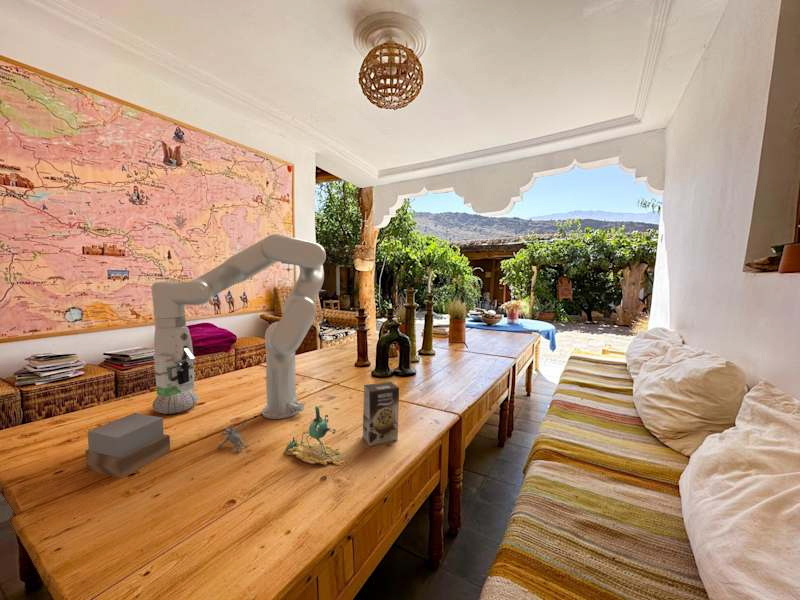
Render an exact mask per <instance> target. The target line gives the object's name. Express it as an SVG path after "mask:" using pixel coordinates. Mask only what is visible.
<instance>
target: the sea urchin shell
mask: <svg viewBox="0 0 800 600" xmlns="http://www.w3.org/2000/svg"><path fill="white" fill-rule="evenodd" d="M197 394H198V393H197V392H196V391H194V388H193V389H190V390H187V391H184V392H181V393H177V394H174V395H171V396H168V397H164V396H160V395H157V396H156V397H155V399H154V400H153V402H152V404H151V405H152V406H151V407H152V408H153V410H154V412H156V413H158V414H161V415H162V414H163V415H175V414H177V413H183V412H184V411H188V410H189V409H191V408H193V407H195V405H197V403H198V401H199V396H198V395H197Z"/></svg>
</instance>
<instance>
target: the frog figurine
mask: <svg viewBox="0 0 800 600" xmlns="http://www.w3.org/2000/svg"><path fill="white" fill-rule="evenodd" d="M314 411H315V418H313V420H312V421H311V423H310V424H309V427H308V431H306V432H305V431H304V432H302V437H301V440H300V441H298V439H295V436H293V437H292V441H291V440H290V442H289V443H288V444H286V447H285V448H284V450H283V453H284V454H285V455H288V456H295V457H296V458H297V459H300V460H301V461H303V462H306V463H309V464H318V465H320V464H321V465H327V464H328V463H329V464H330V463H332V464H334V465H336V466H337V465H338V466H342V463H345V460H344V458H342V456H340V451H339V450H337V449H336V448H335V447H334V445H332V444H331V445H330V444H324V443H323V442H322V441H321V440H320V439H322V438H324V437H325V436H326V435H327V432H331V433H332V434H333V435H335V434H336V432H337V430H336V429H335V428H333V429H332V430H331V427H328V422H329V415H328V414H325V415H324V419H323V417H321V413H320V407H319V406H318V405H316V406H315V408H314ZM306 434H308V435H307V436H306V437H305V440H306V441H303V440H304V439H303V438H304V435H306ZM309 437H310V438H309ZM308 438H309V441H310V440H311V439H315V440H317V441H312V442H311V441H310V442H309V441H308Z"/></svg>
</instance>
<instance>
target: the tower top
mask: <svg viewBox="0 0 800 600" xmlns="http://www.w3.org/2000/svg"><path fill="white" fill-rule="evenodd" d="M163 436H164V418H163V417H159V416H154V415H148V414H143V413H139V412H134V413H133V412H132V413H131V414H128V415H126V416H123V417H121V418H119V419H115V420H114V421H110V422H107V423H106V424H103V425H100V426H98V427H95V428H93V429H90V430H88V431H87V444H88V449H89V451H91V452H95V453H99V454H104V455H108V456H112V457H116V458H120V457H122V456H124V455H126V454H128V453H130V452H132V451H134V450H136V449H138V448H140V447H142V446H144V445H146V444H148V443H150V442H152V441H154V440H156V439H158V438H161V437H163Z"/></svg>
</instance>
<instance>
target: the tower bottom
mask: <svg viewBox="0 0 800 600" xmlns="http://www.w3.org/2000/svg"><path fill="white" fill-rule="evenodd" d="M169 453H171V439H170V435H169V434H164V436H163V437H161V438H158V439H156V440H154V441H152V442H150V443H148V444H146V445H144V446H142V447H140V448H138V449H136V450H134V451H132V452H130V453H128V454H126V455H124V456H122V457H120V458H116V457H112V456H108V455H104V454H99V453H95V452H91V451H89V448H88V449H86V450H85V462H86V463H85V464H86V465H85V467H86V469H87V470H90V471H93V472H98V473H99V474H105V475H107V476H111V477H115V478H118V479H124V478H126V477H127V476H129V475H131V474H132V473H135V472H136V471H138V470H140V469H142V468H143V467H145V466H147V465H149V464H151V463H152V462H155V461H156V460H159V459H161V458H162V457H164V456H165V455H168V454H169Z"/></svg>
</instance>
